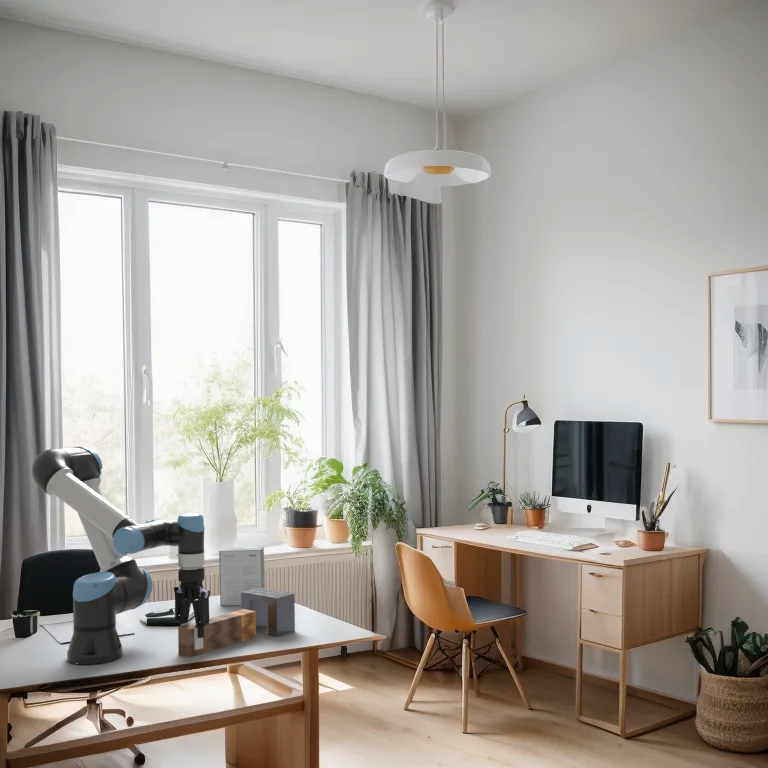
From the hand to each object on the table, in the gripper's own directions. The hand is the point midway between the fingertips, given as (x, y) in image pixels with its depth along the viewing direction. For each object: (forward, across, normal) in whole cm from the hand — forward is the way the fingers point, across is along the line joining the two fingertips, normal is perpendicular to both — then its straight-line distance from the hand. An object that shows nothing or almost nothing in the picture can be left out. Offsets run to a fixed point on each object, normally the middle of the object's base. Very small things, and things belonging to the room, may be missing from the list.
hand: (192, 647), depth 254 cm
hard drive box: (+2, +35, -53) cm, 64 cm away
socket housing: (+2, 0, -31) cm, 31 cm away
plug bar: (+2, 0, -10) cm, 10 cm away
